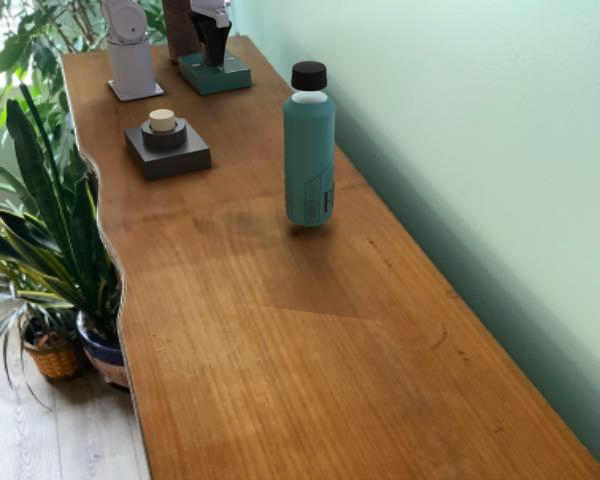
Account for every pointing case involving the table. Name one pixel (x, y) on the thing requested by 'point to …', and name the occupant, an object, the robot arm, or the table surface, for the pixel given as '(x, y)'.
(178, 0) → the dark brown tall block
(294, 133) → the beverage bottle
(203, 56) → the knob
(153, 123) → the push button
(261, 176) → the table surface
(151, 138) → the button base
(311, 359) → the table surface
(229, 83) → the dial panel
